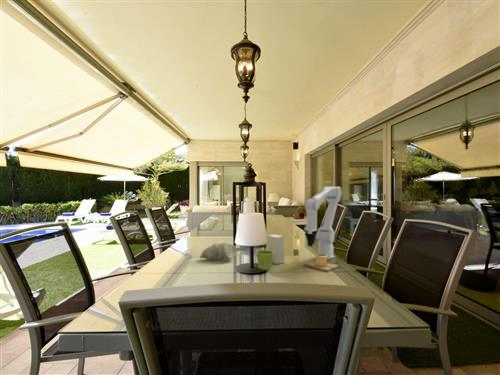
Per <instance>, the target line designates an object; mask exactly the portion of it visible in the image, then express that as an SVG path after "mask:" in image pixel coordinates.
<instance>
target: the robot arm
mask: <svg viewBox="0 0 500 375" xmlns="http://www.w3.org/2000/svg"><path fill="white" fill-rule="evenodd" d="M342 193H343V191H342V188H341V186H324V187H323V189H322V191H321V193H316V194H315V195H314V196H312V197H311V198H310V199H308V198H307V200H306V201H305V203H304V209H305V212H306V224H305V227H304V230H306V232H305V233H304V234H305V237H306V241H307V246H308V247H313V245H314V244H315V240H316V241H317V243H318V253H317V255H318V254H323V255H327V260H330V259H334V258H335V257H336V256H335V255H334V252H335V251H334V249H335V248H334V245H333V243H334V241H335V233H336V232H335V231H334V229H333V228H332V227H333V223H334V219H335V214H336V211H337V206H338V203H340V202H341V198H342V195H343V194H342ZM325 200H326V201H327V202H328V206H327V209H326V214H325V218H324V221H323V224H322V226H320V227H319V228H318V210H319V209H320V207H321V204H322V203H324V201H325Z"/></svg>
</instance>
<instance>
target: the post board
mask: <svg viewBox="0 0 500 375" xmlns="http://www.w3.org/2000/svg"><path fill="white" fill-rule="evenodd" d="M340 266H341V265H339V264H335V263H331V262H327V266H318V265H316V259H315V260H312V261H309V262H306V263H303V267H307V268H310V269H315V270H318V271H322V272H326V273H329V272H331V271H333V270H336V269H339V268H340Z"/></svg>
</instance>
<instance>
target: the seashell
mask: <svg viewBox="0 0 500 375" xmlns="http://www.w3.org/2000/svg"><path fill="white" fill-rule="evenodd" d="M236 253H237V252H236V249H235V247H234V245H233V244H232V243H229V242H222V243H213V244H212V245H211V246H208V247H207V248H204V249H203V251H202V252H201V254H200V256H199V258H200V259H204V260H206V261H208V262H209V261H215V260H217V261H223V260H224V261H225V260H227V261H228V260H230V261H231V260H232V259H234V258H235V257H236V256H237V254H236Z"/></svg>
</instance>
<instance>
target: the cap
mask: <svg viewBox="0 0 500 375" xmlns="http://www.w3.org/2000/svg"><path fill="white" fill-rule="evenodd" d="M315 260H316V265H318V266H327V263H328V261H327V260H328V259H327V255H323V254H318V253H317V254H316V256H315Z"/></svg>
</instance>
